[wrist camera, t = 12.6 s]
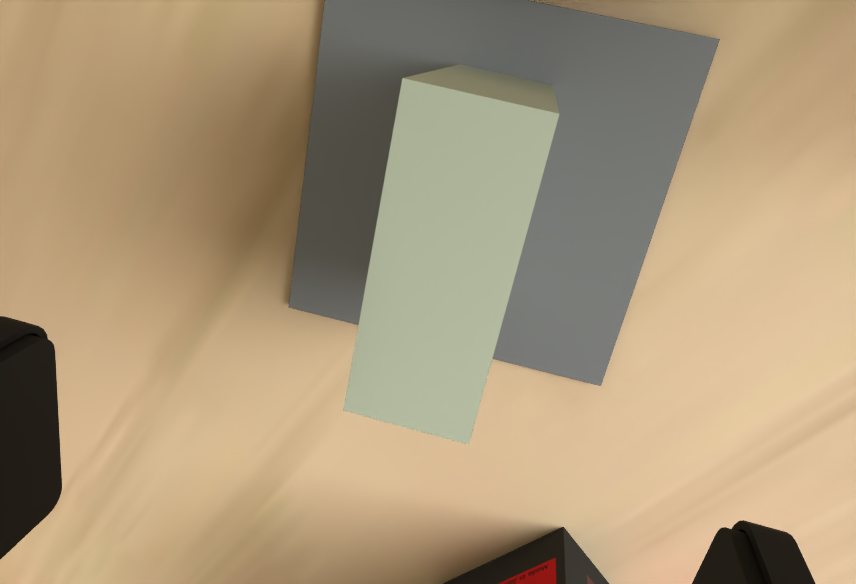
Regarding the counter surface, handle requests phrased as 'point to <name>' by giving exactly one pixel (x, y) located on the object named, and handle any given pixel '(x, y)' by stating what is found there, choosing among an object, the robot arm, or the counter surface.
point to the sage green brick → (448, 245)
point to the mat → (564, 171)
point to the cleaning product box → (538, 564)
